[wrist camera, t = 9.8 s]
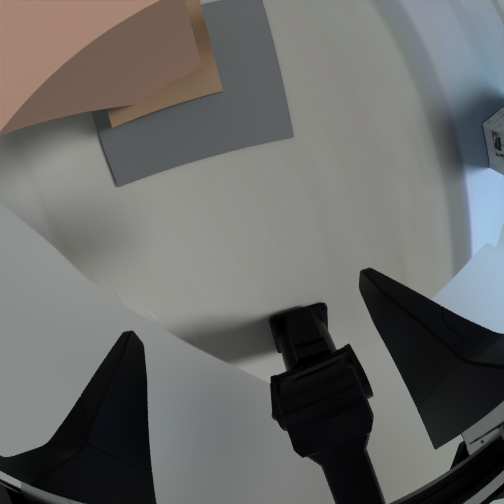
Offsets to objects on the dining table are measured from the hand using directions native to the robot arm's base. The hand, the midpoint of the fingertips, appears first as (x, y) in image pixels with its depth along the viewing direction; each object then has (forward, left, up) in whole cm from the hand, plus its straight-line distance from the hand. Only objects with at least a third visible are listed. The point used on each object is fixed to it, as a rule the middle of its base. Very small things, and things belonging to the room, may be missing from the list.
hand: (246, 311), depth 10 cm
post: (+11, +2, -10) cm, 15 cm away
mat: (+9, +1, -13) cm, 16 cm away
